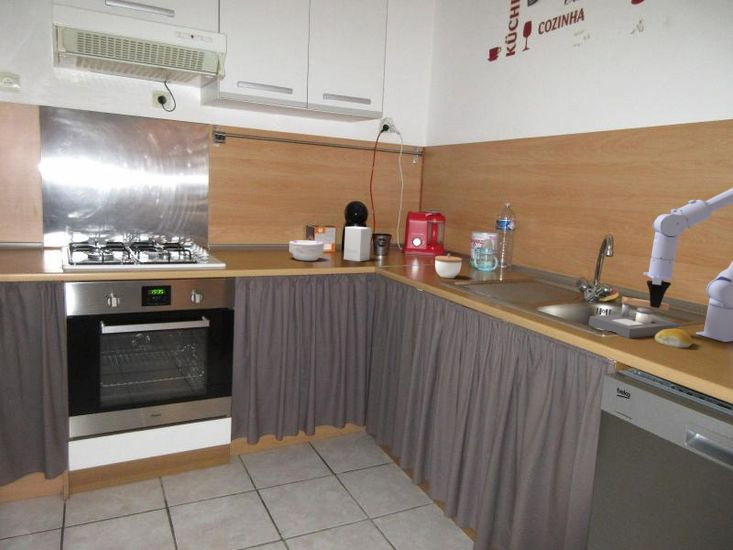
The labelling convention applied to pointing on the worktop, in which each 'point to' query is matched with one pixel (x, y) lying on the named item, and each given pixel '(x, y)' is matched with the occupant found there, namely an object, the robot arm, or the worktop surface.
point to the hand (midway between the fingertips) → (654, 307)
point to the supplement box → (357, 243)
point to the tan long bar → (643, 303)
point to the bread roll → (674, 338)
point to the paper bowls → (306, 249)
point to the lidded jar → (447, 266)
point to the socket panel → (629, 324)
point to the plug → (644, 315)
